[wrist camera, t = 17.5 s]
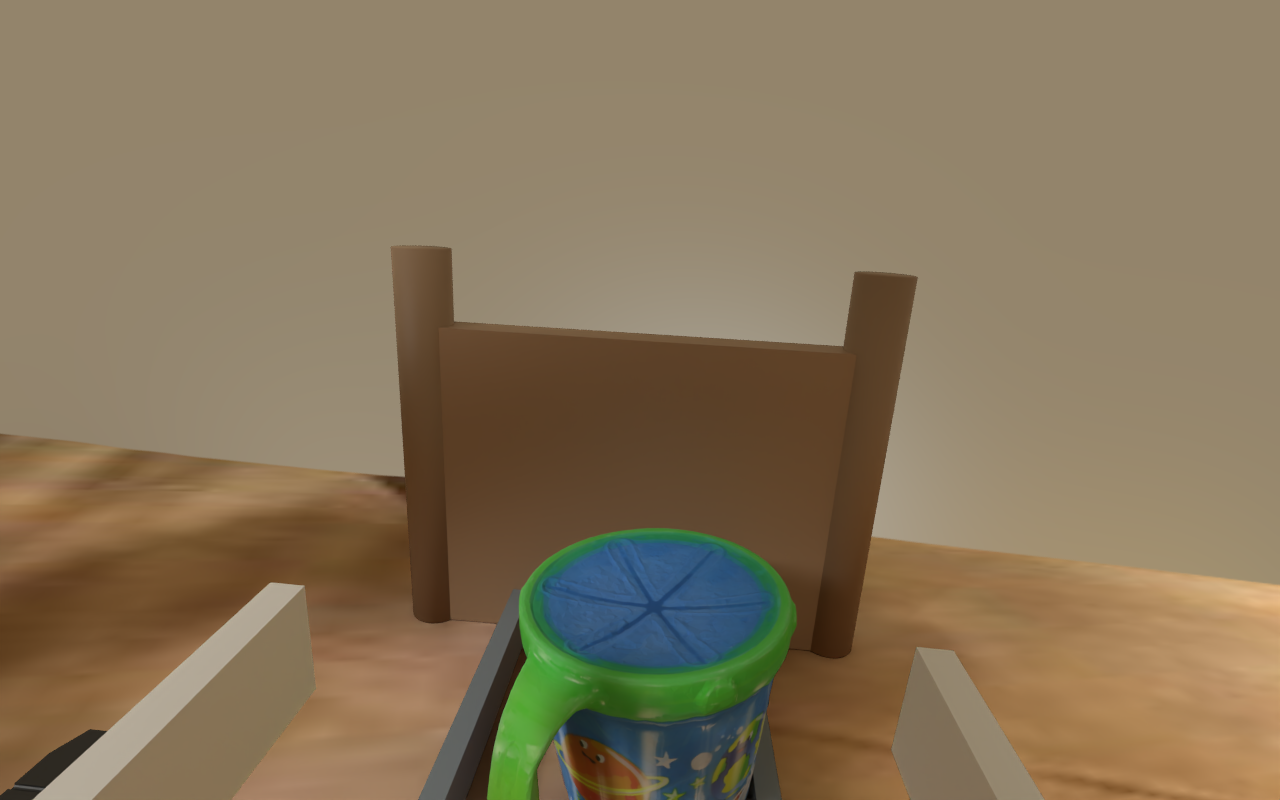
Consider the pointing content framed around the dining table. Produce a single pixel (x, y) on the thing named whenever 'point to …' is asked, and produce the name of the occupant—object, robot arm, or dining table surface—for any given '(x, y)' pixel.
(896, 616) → the dining table surface
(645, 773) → the snack cup
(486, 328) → the headboard cradle
